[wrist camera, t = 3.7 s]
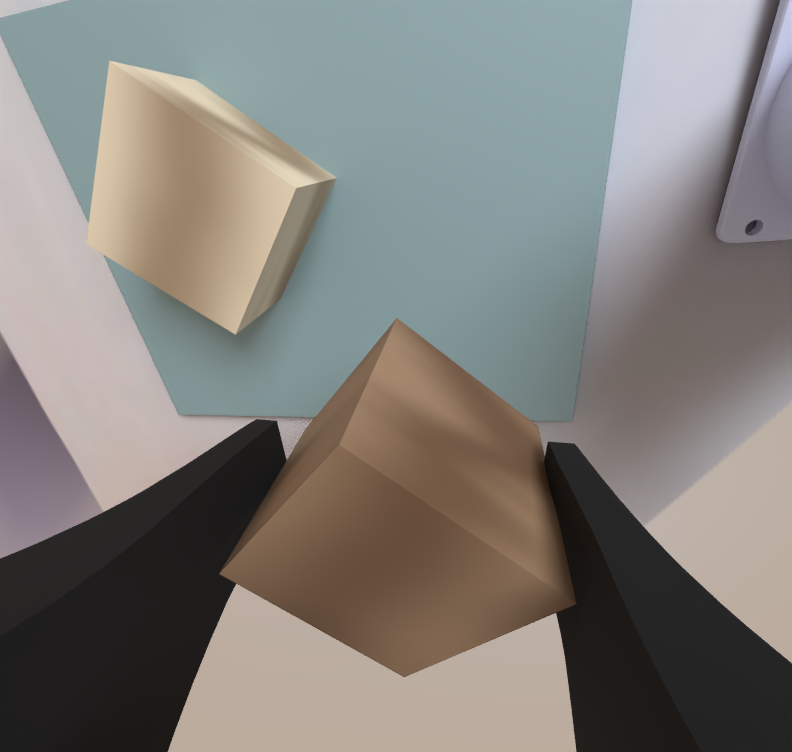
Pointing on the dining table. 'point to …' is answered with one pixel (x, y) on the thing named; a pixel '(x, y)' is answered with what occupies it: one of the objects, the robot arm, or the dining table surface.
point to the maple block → (199, 196)
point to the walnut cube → (410, 515)
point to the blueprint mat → (373, 179)
